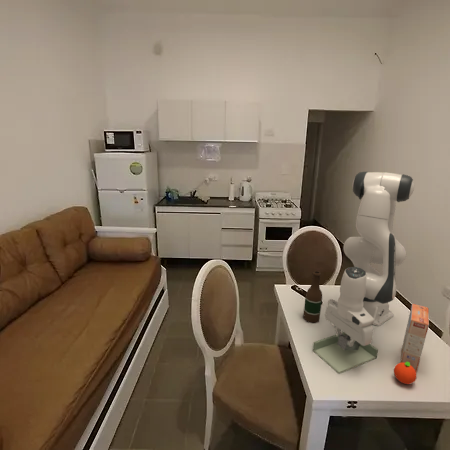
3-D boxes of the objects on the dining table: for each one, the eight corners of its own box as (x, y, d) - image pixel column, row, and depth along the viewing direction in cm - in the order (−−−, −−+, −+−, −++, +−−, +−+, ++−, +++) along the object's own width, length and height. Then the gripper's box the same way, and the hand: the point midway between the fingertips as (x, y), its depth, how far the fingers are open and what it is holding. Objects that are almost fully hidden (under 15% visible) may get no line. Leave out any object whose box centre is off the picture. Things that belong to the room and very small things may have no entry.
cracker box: (417, 374, 114) (429, 324, 109) (399, 367, 117) (409, 319, 112) (418, 352, 126) (429, 307, 120) (401, 347, 129) (411, 302, 123)
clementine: (395, 369, 116) (398, 353, 114) (416, 378, 112) (420, 362, 110) (390, 381, 110) (393, 365, 108) (412, 392, 106) (416, 374, 104)
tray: (348, 337, 134) (350, 329, 133) (376, 358, 122) (378, 349, 121) (312, 350, 125) (313, 342, 124) (338, 373, 113) (340, 364, 112)
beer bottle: (308, 312, 153) (313, 267, 146) (322, 319, 147) (329, 272, 141) (299, 318, 147) (304, 271, 141) (314, 325, 142) (320, 277, 135)
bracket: (344, 350, 119) (350, 335, 119) (336, 344, 123) (342, 329, 122) (357, 350, 123) (363, 335, 123) (350, 344, 127) (355, 329, 126)
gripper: (323, 298, 125) (319, 328, 129) (365, 325, 107) (359, 359, 111) (335, 295, 128) (330, 325, 132) (378, 321, 110) (372, 354, 114)
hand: (344, 341), depth 121 cm, fingers closed on bracket, 4 cm apart
